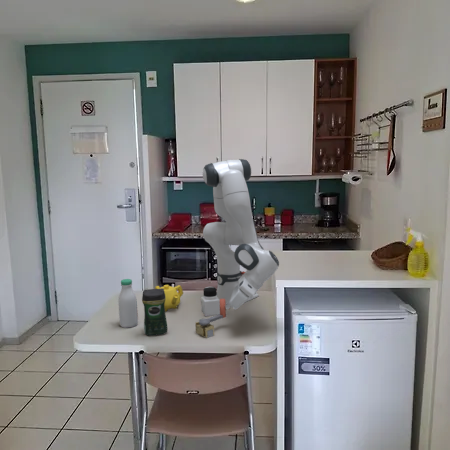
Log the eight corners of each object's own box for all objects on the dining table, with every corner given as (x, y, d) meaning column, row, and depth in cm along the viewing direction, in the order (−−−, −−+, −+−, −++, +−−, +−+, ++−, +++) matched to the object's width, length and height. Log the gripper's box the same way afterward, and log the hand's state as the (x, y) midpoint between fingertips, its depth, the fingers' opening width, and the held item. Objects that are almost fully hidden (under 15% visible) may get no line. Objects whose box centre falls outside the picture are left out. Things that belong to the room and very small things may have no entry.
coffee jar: (167, 327, 182) (165, 285, 178) (167, 335, 174) (165, 291, 171) (144, 329, 180) (141, 287, 177) (143, 337, 173) (141, 293, 169)
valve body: (194, 331, 177) (194, 322, 176) (204, 328, 180) (204, 319, 179) (205, 338, 170) (205, 328, 170) (215, 334, 173) (215, 325, 173)
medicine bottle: (220, 314, 195) (219, 289, 193) (205, 316, 193) (204, 291, 191) (216, 309, 202) (215, 284, 200) (201, 311, 200) (200, 286, 198)
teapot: (140, 306, 208) (139, 284, 206) (172, 298, 218) (171, 277, 216) (161, 318, 192) (159, 294, 190) (194, 309, 203) (193, 286, 201)
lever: (203, 326, 171) (203, 308, 170) (196, 323, 174) (196, 305, 173) (228, 317, 180) (228, 300, 179) (221, 314, 183) (221, 297, 182)
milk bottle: (137, 327, 183) (135, 282, 179) (119, 328, 182) (116, 283, 178) (138, 320, 190) (135, 277, 187) (120, 321, 189) (117, 278, 186)
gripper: (244, 272, 187) (223, 294, 190) (241, 286, 167) (218, 310, 170) (255, 281, 187) (234, 303, 190) (253, 297, 167) (229, 321, 170)
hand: (226, 307), depth 180 cm, fingers closed, pressing on lever
